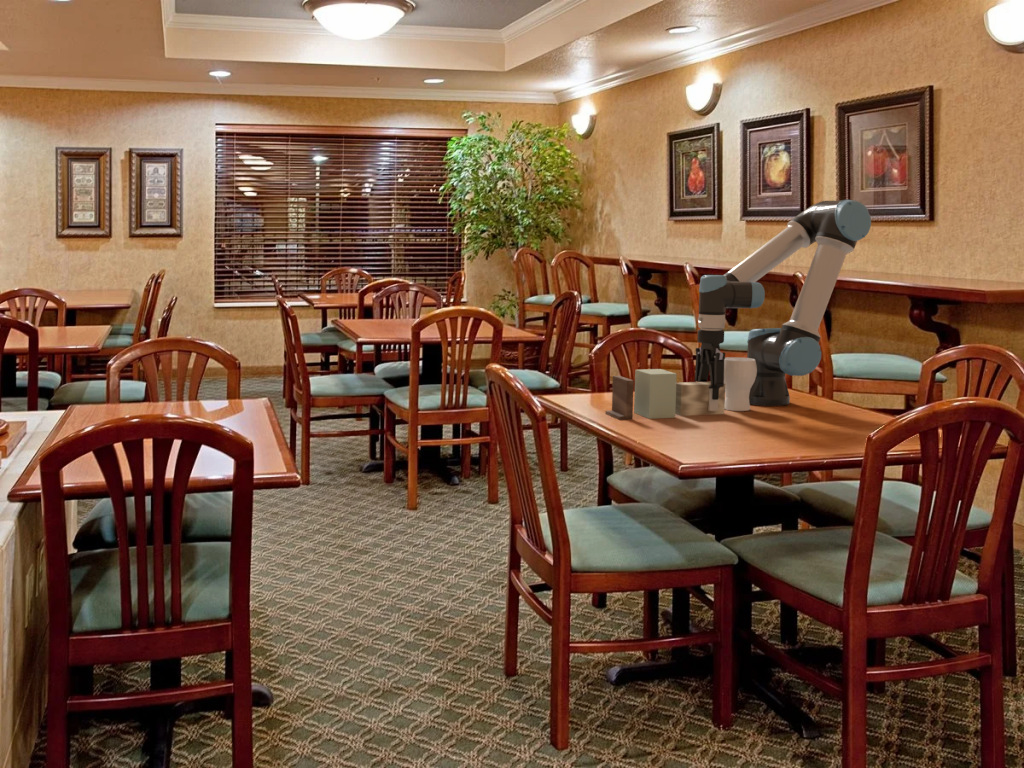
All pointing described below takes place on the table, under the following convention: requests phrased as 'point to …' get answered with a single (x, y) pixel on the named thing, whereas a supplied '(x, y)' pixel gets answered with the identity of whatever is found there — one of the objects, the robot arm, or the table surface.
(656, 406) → the block
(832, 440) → the table surface
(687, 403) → the peg
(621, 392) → the wall
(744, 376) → the cup
